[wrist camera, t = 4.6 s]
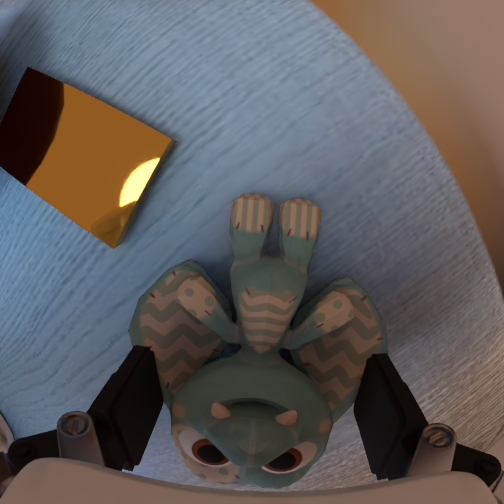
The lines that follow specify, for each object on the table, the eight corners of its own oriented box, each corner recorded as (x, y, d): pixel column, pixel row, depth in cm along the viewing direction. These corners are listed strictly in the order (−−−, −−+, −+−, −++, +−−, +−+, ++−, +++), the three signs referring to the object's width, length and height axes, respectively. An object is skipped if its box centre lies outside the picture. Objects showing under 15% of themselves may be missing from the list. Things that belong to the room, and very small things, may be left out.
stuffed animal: (491, 213, 6) (374, 532, 7) (388, 218, 13) (342, 437, 14) (62, 163, 6) (98, 504, 7) (157, 192, 13) (150, 416, 14)
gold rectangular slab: (40, 71, 10) (2, 156, 11) (27, 66, 9) (-11, 156, 10) (178, 141, 11) (124, 242, 12) (171, 138, 10) (114, 248, 11)
